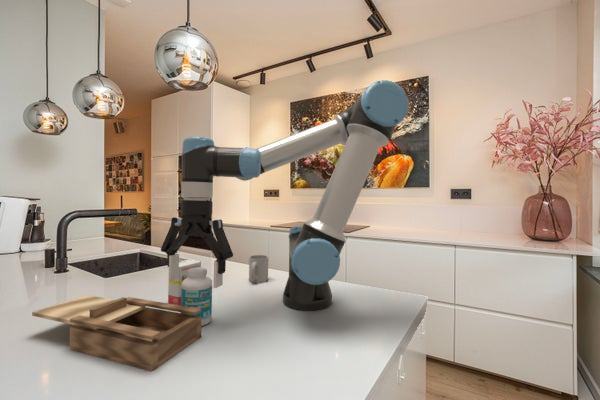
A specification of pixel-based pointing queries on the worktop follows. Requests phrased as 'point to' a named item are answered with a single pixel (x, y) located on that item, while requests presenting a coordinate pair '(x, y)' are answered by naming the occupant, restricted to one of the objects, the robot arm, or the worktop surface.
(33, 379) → the worktop surface
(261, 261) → the cup
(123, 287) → the worktop surface
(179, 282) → the ink box
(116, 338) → the box
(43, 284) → the worktop surface
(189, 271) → the pill bottle
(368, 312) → the worktop surface
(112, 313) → the lid
